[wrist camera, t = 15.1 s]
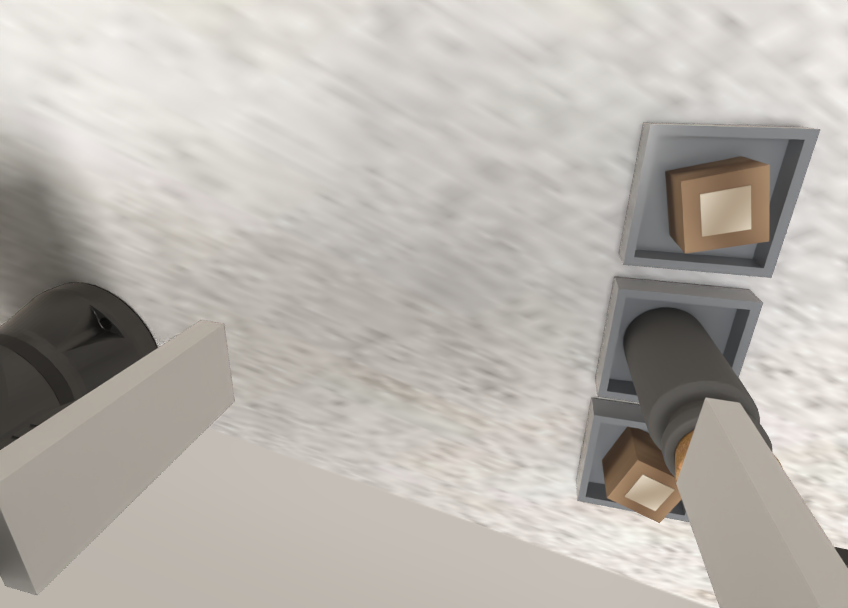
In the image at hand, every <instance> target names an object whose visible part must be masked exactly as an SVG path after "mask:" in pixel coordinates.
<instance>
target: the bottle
mask: <svg viewBox="0 0 848 608" xmlns="http://www.w3.org/2000/svg"><path fill="white" fill-rule="evenodd" d="M623 348H624V353H625V357H626V360H627V364H628V367H629V370H630V374H631V377H632V380H633V384H634V387H635V390H636V394H637V397H638V400H639V404H640V407H641V410H642V414H643V417H644V420H645V423H646V426H647V429H648V431H649V434H650V436H651V438H652V440H653V442H654V443H655V444H656V446H657V447H658V448H659V449H660V450H661V451H662V455H663V458H664V461H665V464H666V466H667V468H668V469H669V471H670V472H671V473H672V474H673V476H675V480H676V483H677V480H678V477H679V474H680V471H681V468H682V465H683V462H684V459H685V456H686V453H687V450H688V447H689V444H690V441H691V439H692V436H693V433H694V430H695V427H696V424H697V421H698V418H699V415H700V412H701V409H702V406H703V403H704V400H705V397H706V398H712V399H719V400H725V401H732V402H738V403H740V404H741V405H742V407H743V408H744V410H745V411H746V413H747V415H748V416H749V418H750V419H751V421H752V422H753V424H754V425H755V427H756V428H757V430H758V431H759V433H760V434H761V436H762V438H763V439H764V441H765V442H766V444H767V445H768V447H769V448H770V450H771V451H772V444H771V441H770V439H769V437H768V435H767V433H766V432H765V430H764V429H763V427H762V426H761V425H760V417H759V412H758V409H757V407H756V405H755V403H754V401H753V399H752V398H751V396H750V395H749V393H748V392H747V390H746V388H745V387H744V385H743V384H742V382H741V381H740V379H739V378H738V377H737V375H736V374H735V372H734V371H733V369H732V368H731V366H730V365H729V363H728V362H727V360H726V359H725V358H724V356H723V355H722V353H721V352H720V350H719V349H718V347H717V346H716V344H715V343H714V341H713V340H712V339H711V337H710V336H709V334H708V333H707V331H706V330H705V329H704V327H703V326H702V325H701V323H700V322H699V321H698V320H697V319H696V318H695V317H694V316H692V315H691V314H689V313H688V312H685V311H683V310H680V309H676V308H657V309H653V310H649V311H647V312H645V313H643V314H641V315H639V316H638V317H637V318H635V319H634V320H633V321H632V322H631V324H630V325H629V326H628V328H627V330H626V332H625V335H624V339H623ZM774 456H775V455H774ZM776 459H777V458H776ZM777 461H778V462H779V460H778V459H777ZM779 464H780V462H779ZM780 465H781V464H780ZM781 467H782V466H781ZM677 488H678V487H677Z"/></svg>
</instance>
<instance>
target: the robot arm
mask: <svg viewBox="0 0 848 608" xmlns="http://www.w3.org/2000/svg"><path fill="white" fill-rule="evenodd" d="M234 401H235V399H234V392H233V384H232V377H231V370H230V363H229V356H228V348H227V341H226V334H225V327H224V323H217V322H211V321H204V320H200V321H199V322H197V323H196V324H194V325H193V326H191V327H189V328H188V329H186V330H185V331H183V332H182V333H180V334H179V335H177V336H176V337H174V338H173V339H171V340H169V341H168V342H166V343H165V344H163V345H162V346H160V347H159V348H156V346H155V343H154V341H153V339H152V337H151V335H150V333H149V331H148V330H147V328H146V327H145V325H144V324H143V323H142V321H141V320H140V319H139V317H138V316H137V315H136V314H135V313H134V312H133V311H132V310H131V309H130V308H129V307H128V306H127V305H126V304H125V303H123V302H122V301H121V300H120V299H118V298H117V297H115V296H114V295H112V294H111V293H109V292H107V291H105V290H103V289H101V288H98V287H96V286H93V285H89V284H84V283H68V284H64V285H61V286H58V287H56V288H53V289H50V290H48V291H45V292H43V293H41V294H40V295H38V296H36V297H35V298H34V299H33V300H31V301H30V302H29V303H28V304H27V305H26V306H24V307H23V308H22V309H21V310H20V311H18V312H17V313H16V314H15V315H14V316H12V317H11V318H10V319H9V320H8V321H7V322H5V323H4V324H3V325H2V326H1V327H0V576H1V578H2V580H3V582H4V584H5V586H7V587H11V588H14V589H17V590H20V591H24V592H28V593H31V594H34V595H38V594H39V593H40V592H41V591H42V590H43V589H44V588H45V587H46V586H47V585H48V584H49V583H51V581H53V580H54V579H55V578H56V577H57V575H59V574H60V573H61V572H62V571H63V569H65V568H66V567H67V566H68V565H69V564H70V563H71V562H72V561H73V560H74V559H75V558H76V557H77V556H78V555H79V554H80V553H81V552H82V551H83V550H84V549H85V548H86V547H87V546H88V545H89V544H90V543H91V542H92V541H93V540H94V539H95V538H96V537H97V536H98V535H99V534H100V533H101V532H102V531H103V530H104V529H105V528H106V527H107V526H108V525H109V524H110V523H111V522H112V521H113V520H115V518H117V517H118V516H119V515H120V514H121V513H122V512H123V511H124V510H125V509H126V508H127V506H129V505H130V504H131V503H132V502H133V501H134V500H135V499H136V498H137V497H138V496H139V495H140V494H141V493H142V492H143V491H144V490H145V489H146V488H147V487H148V486H149V485H150V484H151V483H152V482H153V481H154V480H155V479H156V478H157V477H158V476H159V475H160V474H161V473H162V472H163V471H164V470H165V469H166V468H167V467H168V466H169V465H170V464H171V463H172V462H173V461H174V460H176V459H177V458H178V457H179V456H180V455H181V454H182V453H183V452H184V451H185V450H186V448H188V447H189V446H190V445H191V444H192V443H193V442H194V441H195V440H196V439H197V438H198V437H199V436H200V435H201V433H203V432H204V431H205V430H206V429H207V428H208V427H209V426H210V425H211V424H212V423H213V422H214V421H215V420H216V419H217V418H218V417H219V416H220V415H221V414H222V413H223V412H224V411H225V410H226V409H227V408H228V407H229V406H230V405H231V404H232V403H233V402H234ZM676 484H677V487H678V490H679V493H680V496H681V498H682V501H683V504H684V507H685V510H686V513H687V516H688V518H689V521H690V524H691V527H692V530H693V533H694V536H695V538H696V541H697V544H698V547H699V550H700V553H701V556H702V558H703V561H704V564H705V567H706V570H707V573H708V576H709V578H710V581H711V584H712V587H713V590H714V593H715V596H716V599H717V601H718V604H719V607H720V608H848V550H847V549H842V548H837V547H834V546H833V545H832V543H831V542H830V540H829V539H828V537H827V536H826V534H825V533H824V531H823V530H822V528H821V526H820V525H819V523H818V522H817V520H816V519H815V517H814V516H813V514H812V513H811V511H810V510H809V508H808V507H807V505H806V503H805V502H804V500H803V499H802V497H801V496H800V494H799V493H798V491H797V490H796V488H795V487H794V485H793V484H792V482H791V480H790V479H789V477H788V476H787V474H786V473H785V471H784V470H783V468H782V467H781V465H780V464H779V462H778V461H777V459H776V457H775V456H774V454H773V453H772V451H771V450H770V448H769V447H768V445H767V444H766V442H765V441H764V439H763V438H762V436H761V434H760V433H759V431H758V430H757V428H756V427H755V425H754V424H753V422H752V421H751V419H750V418H749V416H748V415H747V413H746V411H745V410H744V408H743V407H742V405H741V404H740V403H738V402H732V401H725V400H719V399H712V398H706V397H705V400H704V403H703V406H702V409H701V412H700V415H699V418H698V421H697V424H696V427H695V430H694V433H693V436H692V439H691V441H690V444H689V447H688V450H687V453H686V456H685V459H684V462H683V465H682V468H681V471H680V474H679V477H678V480H677V483H676Z"/></svg>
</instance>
